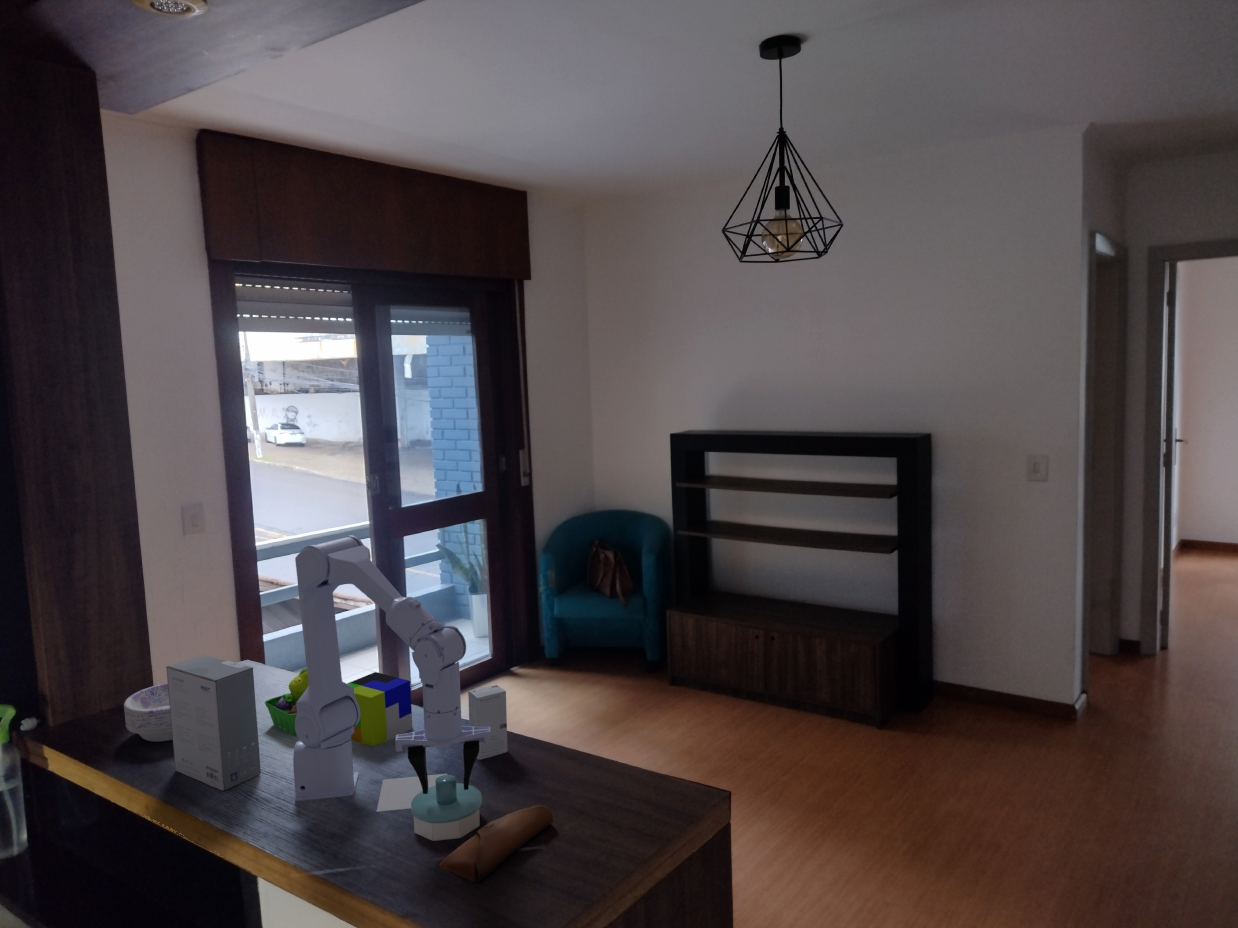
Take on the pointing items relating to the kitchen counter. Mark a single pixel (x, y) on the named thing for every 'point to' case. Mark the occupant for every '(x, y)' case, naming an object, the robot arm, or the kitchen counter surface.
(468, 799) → the lid
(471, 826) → the bowl
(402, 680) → the puzzle toy
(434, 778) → the plate
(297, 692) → the fruit basket
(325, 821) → the kitchen counter surface
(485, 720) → the skincare box
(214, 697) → the hard drive box
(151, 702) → the paper bowls
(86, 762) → the kitchen counter surface
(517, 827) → the sunglasses case
